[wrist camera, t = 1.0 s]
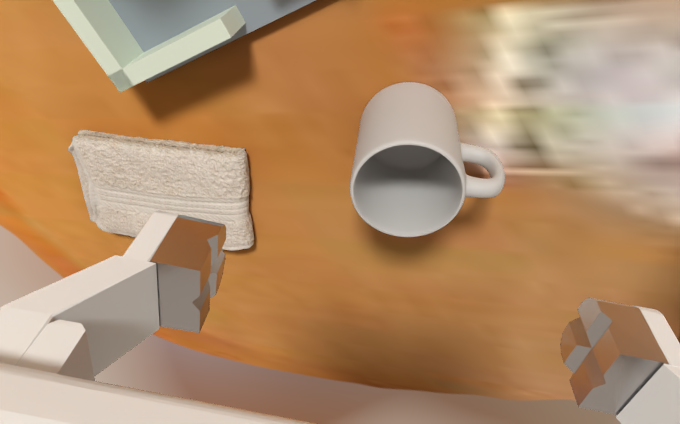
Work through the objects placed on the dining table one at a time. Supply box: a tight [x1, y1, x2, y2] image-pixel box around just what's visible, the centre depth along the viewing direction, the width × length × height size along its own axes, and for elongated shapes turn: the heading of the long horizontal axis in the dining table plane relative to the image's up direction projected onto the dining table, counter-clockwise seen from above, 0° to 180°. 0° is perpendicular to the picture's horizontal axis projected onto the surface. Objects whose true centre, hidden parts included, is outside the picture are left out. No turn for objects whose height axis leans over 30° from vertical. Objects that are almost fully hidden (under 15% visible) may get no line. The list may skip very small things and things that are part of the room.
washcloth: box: [68, 130, 254, 250], centre depth 51 cm, size 12×18×3 cm, turn 87°
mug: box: [350, 82, 505, 237], centre depth 40 cm, size 12×8×11 cm
